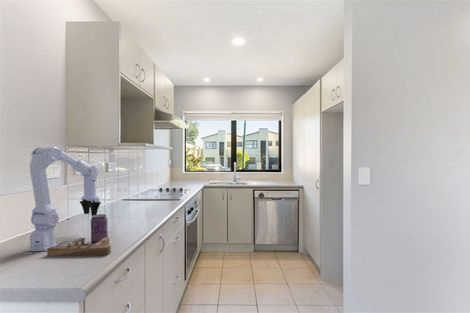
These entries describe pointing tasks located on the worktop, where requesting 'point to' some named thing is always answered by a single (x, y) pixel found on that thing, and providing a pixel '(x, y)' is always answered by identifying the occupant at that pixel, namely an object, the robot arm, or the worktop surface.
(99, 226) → the beverage can
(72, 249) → the pin nest
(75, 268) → the worktop surface
